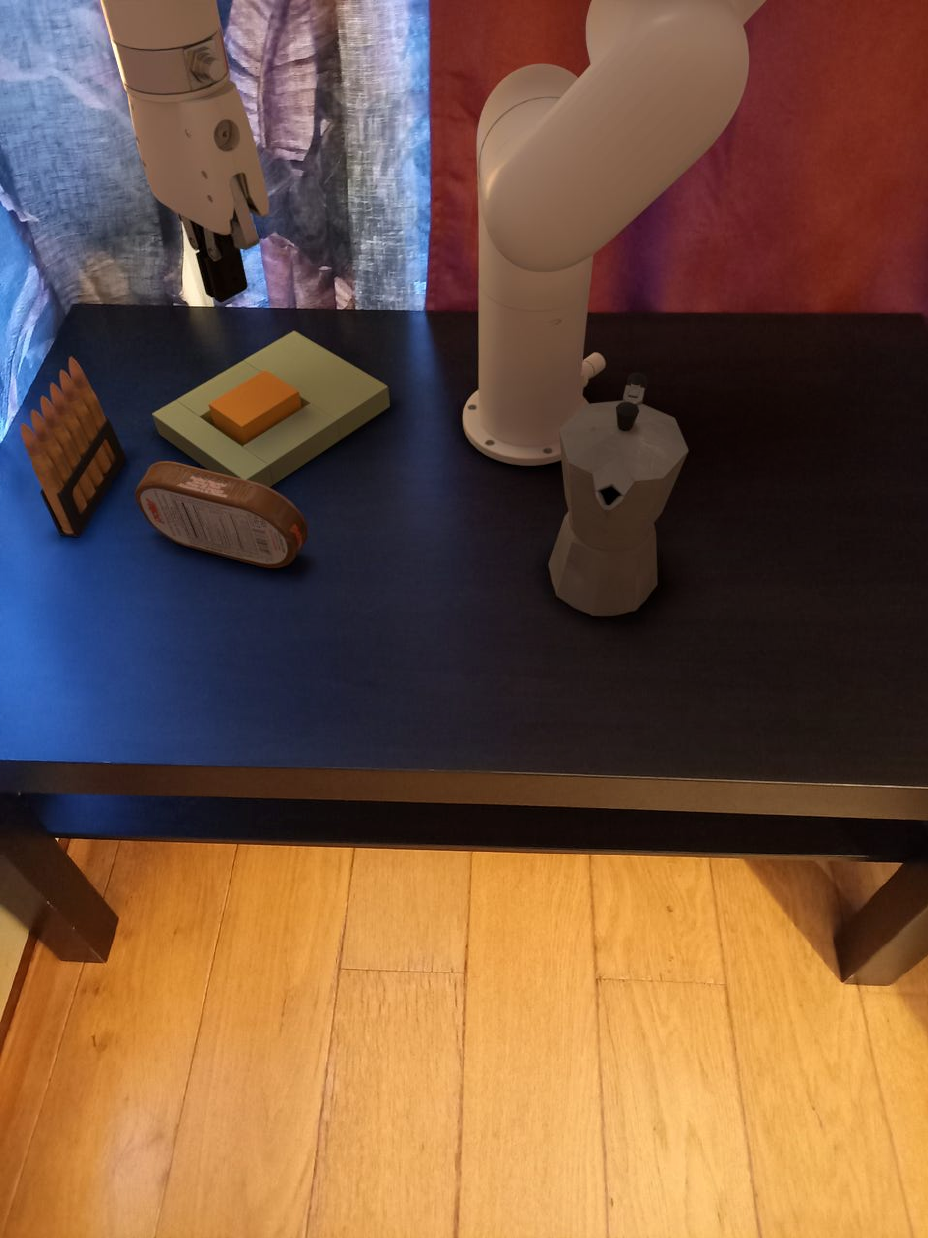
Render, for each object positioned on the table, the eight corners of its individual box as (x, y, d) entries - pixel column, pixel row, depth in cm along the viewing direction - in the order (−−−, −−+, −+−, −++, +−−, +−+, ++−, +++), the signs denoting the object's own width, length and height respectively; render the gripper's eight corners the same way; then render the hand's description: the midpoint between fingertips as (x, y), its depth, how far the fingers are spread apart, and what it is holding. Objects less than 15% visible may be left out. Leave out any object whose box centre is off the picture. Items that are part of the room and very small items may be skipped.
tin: (316, 557, 81) (301, 486, 75) (300, 584, 80) (284, 513, 73) (164, 518, 85) (137, 446, 78) (145, 543, 83) (116, 471, 76)
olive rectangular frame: (297, 350, 100) (294, 330, 98) (390, 406, 94) (388, 386, 92) (158, 433, 92) (151, 413, 90) (250, 500, 86) (244, 480, 84)
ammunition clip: (78, 538, 83) (27, 432, 74) (59, 535, 83) (6, 430, 74) (126, 457, 90) (85, 351, 80) (108, 455, 90) (65, 349, 81)
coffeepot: (646, 648, 75) (684, 480, 61) (530, 625, 76) (541, 457, 62) (670, 514, 84) (709, 342, 70) (567, 496, 86) (584, 325, 72)
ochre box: (249, 459, 89) (241, 426, 86) (217, 436, 91) (207, 403, 88) (305, 423, 93) (299, 390, 89) (272, 402, 95) (265, 369, 92)
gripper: (283, 70, 64) (319, 306, 79) (153, 16, 71) (208, 244, 85) (195, 106, 61) (249, 347, 75) (66, 46, 67) (139, 278, 82)
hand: (227, 291), depth 80 cm, fingers closed
